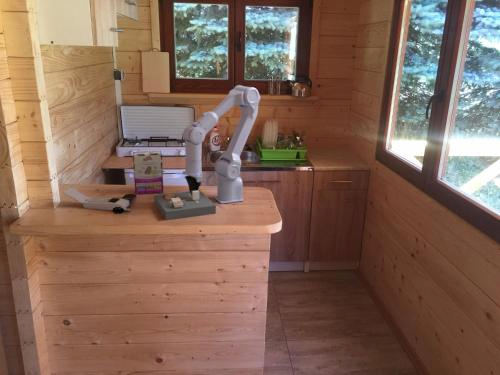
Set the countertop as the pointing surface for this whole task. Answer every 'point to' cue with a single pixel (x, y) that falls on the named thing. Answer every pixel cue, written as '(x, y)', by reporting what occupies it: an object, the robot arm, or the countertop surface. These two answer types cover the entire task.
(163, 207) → the panel
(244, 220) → the countertop surface
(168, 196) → the push button
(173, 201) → the rocker switch
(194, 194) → the tan rectangular block
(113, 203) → the white long dark-ended device
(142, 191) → the candy bar box
